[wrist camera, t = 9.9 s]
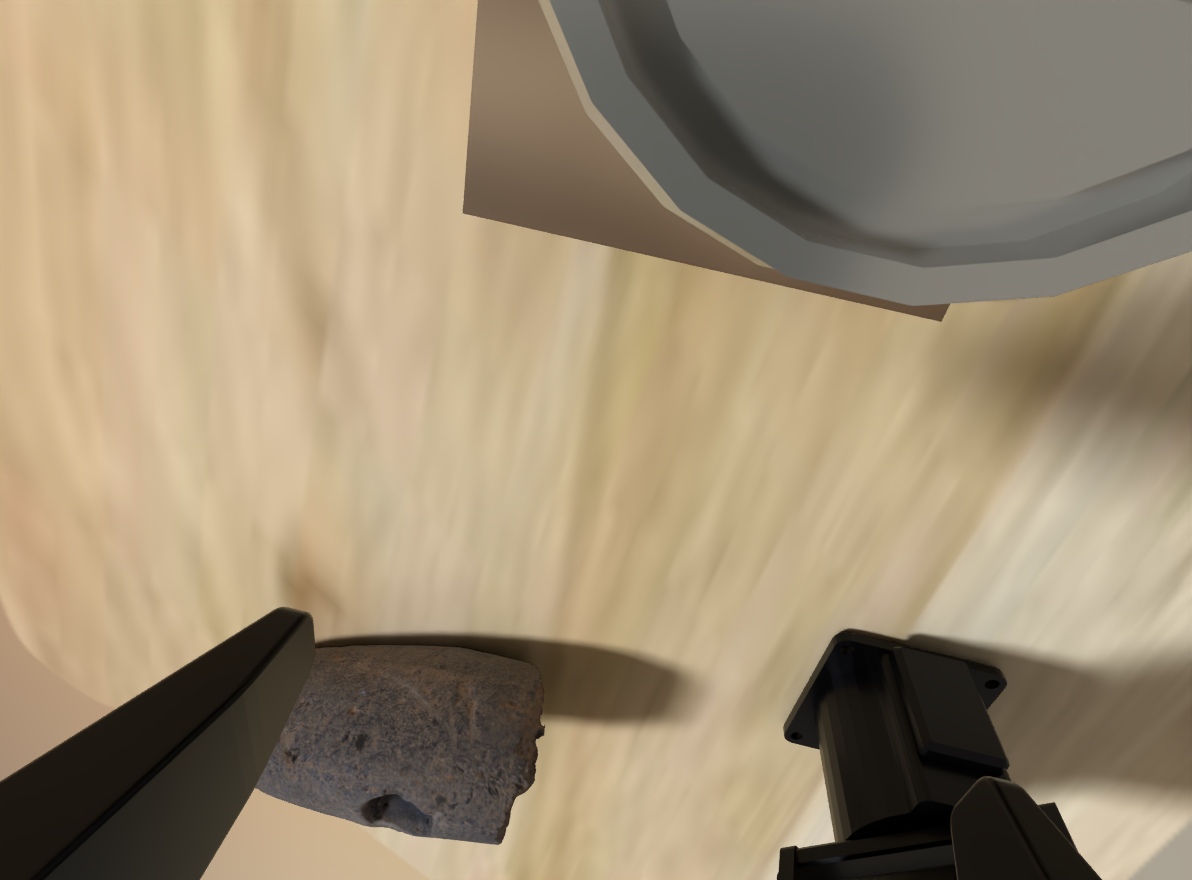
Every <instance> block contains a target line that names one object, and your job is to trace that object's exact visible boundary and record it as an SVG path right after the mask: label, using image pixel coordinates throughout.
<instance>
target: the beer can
mask: <svg viewBox="0 0 1192 880" xmlns="http://www.w3.org/2000/svg"><path fill="white" fill-rule="evenodd" d="M538 1H539V3H540V5H541V8H542V10H543V12H544V15H545V17H546V20H547V22H548V24H549V27H550V29H551V31H552V34H553V36H554V39H555V41H556V43H557V46H558V48H559V50H560V53H561V55H562V58H563V60H564V62H565V65H566V67H567V69H568V72H569V74H570V77H571V79H572V81H573V84H574V86H575V89H576V91H577V93H578V96H579V98H580V100H581V103H582V105H583V108H584V110H585V112H586V114H587V115H588V116H589V117H590V119H591V120H592V121H593V122H594V123H595V125H596V126H597V127H598V128H599V129H600V131H601V132H602V133H603V134H604V135H605V137H606V138H607V139H608V140H609V142H610V143H611V144H612V145H613V146H614V148H615V149H616V150H617V151H618V152H619V154H620V155H621V156H622V157H623V158H624V160H625V161H626V162H627V163H628V164H629V166H630V167H631V168H632V169H633V170H634V172H635V173H636V174H637V175H638V177H639V178H640V179H641V180H642V181H643V183H644V184H645V185H646V186H647V187H648V189H649V190H650V191H651V192H652V193H653V195H654V196H655V197H656V198H657V199H658V201H659V202H660V203H661V204H662V205H663V207H665V208H667V209H668V210H670V211H671V212H673V213H675V214H676V215H678V216H679V217H681V218H683V219H684V220H686V221H687V222H689V223H691V224H692V225H694V226H696V227H697V228H699V229H700V230H702V231H704V232H705V233H707V234H708V235H710V236H712V237H713V238H715V239H717V240H718V241H720V242H721V243H723V244H725V245H726V246H728V247H729V248H731V249H733V250H734V251H736V252H738V253H739V254H741V255H742V256H744V257H746V258H747V259H749V260H750V261H752V262H754V263H755V264H757V265H759V266H763V267H768V268H772V269H775V270H777V271H779V272H780V273H782V274H784V275H785V276H787V277H789V278H793V279H798V280H802V281H806V282H811V283H815V284H819V285H824V286H828V287H832V288H837V289H841V290H845V291H849V292H854V293H858V294H862V295H867V296H871V297H875V298H880V299H884V300H888V301H893V302H897V303H901V304H906V305H910V306H921V305H936V304H950V303H965V302H980V301H994V300H1009V299H1024V298H1038V297H1053V296H1057V295H1060V294H1063V293H1066V292H1069V291H1072V290H1075V289H1078V288H1081V287H1084V286H1087V285H1090V284H1093V283H1096V282H1099V281H1102V280H1105V279H1108V278H1111V277H1114V276H1117V275H1120V274H1123V273H1126V272H1129V271H1132V270H1136V269H1139V268H1142V267H1145V266H1148V265H1151V264H1154V263H1157V262H1160V261H1163V260H1166V259H1169V258H1172V257H1175V256H1178V255H1181V254H1184V253H1187V252H1190V251H1192V0H538Z"/></svg>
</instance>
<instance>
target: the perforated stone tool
mask: <svg viewBox="0 0 1192 880" xmlns="http://www.w3.org/2000/svg"><path fill="white" fill-rule="evenodd" d="M543 701H544V689H543V687H542V683H541V681H540V674H539V671H538V668H535V667H534V666H533V665H532V664H530V663H527V662H523V661H519V660H514V659H511V658H505V657H501V656H498V655H494V654H490V653H485V652H479V651H476V650H472V649H467V648H460V647H440V646H419V645H408V646H405V645H400V646H399V645H365V646H363V645H362V646H346V647H326V648H316V649H315V660H314V664H313V667H312V669H311V672H310V674H309V676H308V678H307V680H306V682H305V684H304V687H303V689H302V691H301V693H300V695H299V697H298V699H297V701H296V704H295V706H294V708H293V710H292V712H291V714H290V716H289V718H288V720H287V723H286V725H285V727H284V729H283V731H282V733H281V735H280V737H279V740H278V742H277V744H276V746H275V748H274V750H273V752H272V754H271V757H270V759H269V761H268V763H267V765H266V767H265V769H264V771H263V773H262V775H261V777H260V779H259V781H258V783H257V785H256V786H255V788H257V789H259V790H260V791H262V792H264V793H266V794H268V795H270V796H273V797H275V798H278V799H281V800H284V801H287V802H289V803H292V804H294V805H298V806H301V807H304V808H307V809H311V810H314V811H317V812H320V813H324V814H327V815H331V816H335V817H339V818H343V819H346V820H349V821H353V822H355V823H358V824H361V825H364V826H369V827H386V828H391V829H394V830H396V831H399V832H404V833H406V834H410V835H413V836H419V837H431V838H442V839H451V840H460V841H469V842H477V843H486V844H495V845H499V844H501V843H502V840H503V839H504V836H505V832H506V827H507V826H508V825H509V819H510V814H511V813H510V812H511V808H512V806H513V803H514V800H515V798H516V797H517V796H518V795H521V794H523V793H525V792H526V791H527V790H528V789H529V788H530V787H531V786H532V784H533V783H534V781H535V778H534V777H535V773H536V769H535V767H536V765H535V763H536V760H537V756H538V750H537V747H536V743H535V742H536V739H539V738H540V737H541V736H543V735H544V728H545V726H542V725H541V722H540V715H541V714H542V704H543Z"/></svg>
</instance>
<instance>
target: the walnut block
mask: <svg viewBox="0 0 1192 880" xmlns="http://www.w3.org/2000/svg"><path fill="white" fill-rule="evenodd" d="M463 213H464V214H468V215H473V216H477V217H482V218H486V219H491V220H495V221H499V222H504V223H508V224H513V225H517V226H521V227H526V228H530V229H535V230H539V231H543V232H548V233H552V234H557V235H561V236H566V237H570V238H574V239H579V240H583V241H588V242H592V243H596V244H601V245H605V246H610V247H614V248H619V249H623V250H627V251H632V252H636V253H641V254H645V255H649V256H654V257H658V258H663V259H667V260H671V261H676V262H680V263H685V264H689V265H694V266H698V267H702V268H707V269H711V270H716V271H720V272H724V273H729V274H733V275H738V276H742V277H746V278H751V279H755V280H760V281H764V282H769V283H773V284H777V285H782V286H786V287H791V288H795V289H799V290H804V291H808V292H813V293H817V294H822V295H826V296H830V297H835V298H839V299H844V300H848V301H852V302H857V303H861V304H866V305H870V306H874V307H879V308H883V309H888V310H892V311H897V312H901V313H905V314H910V315H914V316H919V317H923V318H927V319H932V320H936V321H942V319H943V317H944V315H945V313H946V311H947V309H948V307H949V305H950V304H936V305H921V306H910V305H906V304H901V303H897V302H893V301H888V300H884V299H880V298H875V297H871V296H867V295H862V294H858V293H854V292H849V291H845V290H841V289H837V288H832V287H828V286H824V285H819V284H815V283H811V282H806V281H802V280H798V279H793V278H789V277H787V276H785V275H784V274H782V273H780V272H779V271H777V270H775V269H772V268H768V267H763V266H759V265H757V264H755V263H754V262H752V261H750V260H749V259H747V258H746V257H744V256H742V255H741V254H739V253H738V252H736V251H734V250H733V249H731V248H729V247H728V246H726V245H725V244H723V243H721V242H720V241H718V240H717V239H715V238H713V237H712V236H710V235H708V234H707V233H705V232H704V231H702V230H700V229H699V228H697V227H696V226H694V225H692V224H691V223H689V222H687V221H686V220H684V219H683V218H681V217H679V216H678V215H676V214H675V213H673V212H671V211H670V210H668V209H667V208H665V207H663V205H662V204H661V203H660V202H659V201H658V199H657V198H656V197H655V196H654V195H653V193H652V192H651V191H650V190H649V189H648V187H647V186H646V185H645V184H644V183H643V181H642V180H641V179H640V178H639V177H638V175H637V174H636V173H635V172H634V170H633V169H632V168H631V167H630V166H629V164H628V163H627V162H626V161H625V160H624V158H623V157H622V156H621V155H620V154H619V152H618V151H617V150H616V149H615V148H614V146H613V145H612V144H611V143H610V142H609V140H608V139H607V138H606V137H605V135H604V134H603V133H602V132H601V131H600V129H599V128H598V127H597V126H596V125H595V123H594V122H593V121H592V120H591V119H590V117H589V116H588V115H587V114H586V112H585V110H584V108H583V105H582V103H581V100H580V98H579V96H578V93H577V91H576V89H575V86H574V84H573V81H572V79H571V77H570V74H569V72H568V69H567V67H566V65H565V62H564V60H563V58H562V55H561V53H560V50H559V48H558V46H557V43H556V41H555V39H554V36H553V34H552V31H551V29H550V27H549V24H548V22H547V20H546V17H545V15H544V12H543V10H542V8H541V5H540V3H539V1H538V0H478V8H477V22H476V36H475V50H474V64H473V78H472V92H471V106H470V120H469V134H468V148H467V162H466V176H465V190H464V204H463Z"/></svg>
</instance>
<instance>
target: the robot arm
mask: <svg viewBox="0 0 1192 880" xmlns="http://www.w3.org/2000/svg"><path fill="white" fill-rule="evenodd" d="M845 645H849V646H845ZM314 660H315V638H314V624H313V617H312V616H311V614H310V613H308V612H305V611H301V610H297V609H293V608H289V607H280V608H277V609H275V610H273V611H271V612H270V613H268V614H267V615H265V616H263V617H262V618H260V619H259V620H257V621H255V622H254V623H252V624H251V625H249V626H247V627H246V628H244V629H243V630H241V631H240V632H238V633H236V634H235V635H233V636H232V637H230V638H228V639H227V640H225V641H224V642H222V643H220V644H219V645H217V646H216V647H214V648H212V649H211V650H209V651H208V652H206V653H204V654H203V655H201V656H200V657H198V658H196V659H195V660H193V661H192V662H190V663H188V664H187V665H185V666H184V667H182V668H180V669H179V670H177V671H176V672H174V673H173V674H171V675H169V676H168V677H166V678H165V679H163V680H161V681H160V682H158V683H157V684H155V685H153V686H152V687H150V688H149V689H147V690H145V691H144V692H142V693H141V694H139V695H137V696H136V697H134V698H133V699H131V700H129V701H128V702H126V703H125V704H123V705H121V706H120V707H118V708H117V709H115V710H113V711H112V712H110V713H109V714H107V715H106V716H104V717H102V718H101V719H99V720H98V721H96V722H95V723H93V724H91V725H90V726H88V727H87V728H85V729H83V730H82V731H80V732H79V733H77V734H75V735H74V736H72V737H70V738H69V739H67V740H66V741H64V742H63V743H61V744H59V745H58V746H56V747H54V748H53V749H51V750H50V751H48V752H47V753H45V754H43V755H42V756H40V757H38V758H37V759H35V760H34V761H32V762H31V763H29V764H27V765H26V766H24V767H23V768H21V769H19V770H18V771H16V772H15V773H13V774H11V775H10V776H8V777H7V778H5V779H3V780H2V781H0V880H200V879H201V877H202V875H203V874H204V872H205V870H206V869H207V867H208V865H209V864H210V862H211V860H212V859H213V857H214V855H215V854H216V852H217V850H218V848H219V847H220V845H221V844H222V842H223V840H224V839H225V837H226V835H227V834H228V832H229V830H230V829H231V827H232V825H233V824H234V822H235V820H236V819H237V817H238V815H239V814H240V812H241V810H242V809H243V807H244V805H245V804H246V802H247V800H248V799H249V797H250V795H251V793H252V792H253V790H254V788H255V786H256V785H257V783H258V781H259V779H260V777H261V775H262V773H263V771H264V769H265V767H266V765H267V763H268V761H269V759H270V757H271V754H272V752H273V750H274V748H275V746H276V744H277V742H278V740H279V737H280V735H281V733H282V731H283V729H284V727H285V725H286V723H287V720H288V718H289V716H290V714H291V712H292V710H293V708H294V706H295V704H296V701H297V699H298V697H299V695H300V693H301V691H302V689H303V687H304V684H305V682H306V680H307V678H308V676H309V674H310V672H311V669H312V667H313V664H314ZM1006 685H1007V682H1006V679H1005V677H1004V675H1003V673H1002V671H1001V670H1000V669H998V668H996V667H992V666H988V665H983V664H979V663H975V662H971V661H967V660H962V659H958V658H954V657H950V656H946V655H942V654H937V653H933V652H929V651H925V650H921V649H916V648H912V647H908V646H904V645H900V644H895V643H891V642H887V641H883V640H879V639H874V638H870V637H866V636H862V635H858V634H853V633H848V632H844V633H839V634H837V635H835V636H834V637H833V638H832V640H831V642H830V644H829V645H828V647H827V649H826V651H825V652H824V654H823V656H822V658H821V660H820V661H819V663H818V665H817V667H816V668H815V670H814V672H813V674H812V676H811V677H810V679H809V681H808V683H807V684H806V686H805V688H804V690H803V692H802V693H801V695H800V697H799V699H798V700H797V702H796V704H795V706H794V708H793V709H792V711H791V713H790V715H789V717H788V718H787V720H786V722H785V724H784V727H783V730H784V737H785V739H786V740H787V741H789V742H792V743H795V744H799V745H803V746H807V747H812V748H816V749H820V754H821V760H822V766H823V772H824V778H825V784H826V790H827V796H828V802H829V808H830V814H831V820H832V826H833V832H834V838H835V842H833V843H827V844H821V845H815V846H809V847H803V848H798V847H797V846H790V847H784V848H781V849H780V859H779V873H778V874H777V880H1102V879H1101V878H1100V877H1099V876H1098V874H1097V873H1096V872H1095V871H1094V870H1093V869H1092V867H1091V866H1090V865H1089V864H1088V863H1087V862H1086V861H1085V859H1084V858H1083V857H1082V856H1081V855H1080V854H1079V852H1078V850H1077V848H1076V846H1075V844H1074V842H1073V840H1072V838H1071V836H1070V833H1069V831H1068V829H1067V827H1066V825H1065V823H1064V821H1063V819H1062V817H1061V814H1060V812H1059V810H1058V808H1057V806H1056V804H1055V802H1053V803H1047V804H1041V805H1037V804H1036V803H1035V801H1034V800H1033V799H1032V798H1031V797H1030V796H1029V794H1028V793H1027V792H1026V791H1025V790H1024V789H1023V788H1022V787H1020V786H1019V785H1018V784H1016V783H1013V782H1011V779H1010V777H1009V774H1008V772H1007V769H1008V767H1009V766H1010V765H1009V761H1008V758H1007V756H1006V754H1005V751H1004V749H1003V747H1002V744H1001V742H1000V740H999V737H998V735H997V733H996V730H995V728H994V726H993V723H992V721H991V719H990V716H989V714H988V712H987V709H988V708H989V707H990V706H991V704H992V703H993V702H994V701H995V700H996V698H997V697H998V696H999V695H1000V693H1001V692H1002V691H1003V690H1004V689H1005V687H1006Z"/></svg>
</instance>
